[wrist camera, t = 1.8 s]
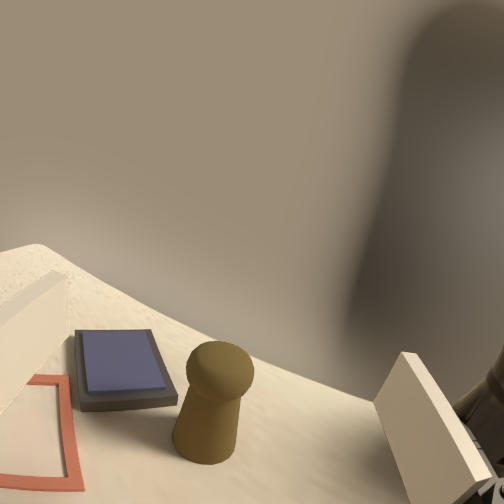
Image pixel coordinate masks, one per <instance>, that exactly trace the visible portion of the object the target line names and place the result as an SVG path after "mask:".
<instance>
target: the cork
mask: <svg viewBox="0 0 504 504" xmlns="http://www.w3.org/2000/svg"><path fill="white" fill-rule="evenodd" d="M186 375H187V380H188V382H189V384H190V386H189V388H188V391H187V394H186V397H185V400H184V402H183V405H182V408H181V411H180V413H179V416H178V419H177V422H176V425H175V428H174V430H173V433H172V442H173V444H174V446H175V448H176V450H177V451H178V452H179V453H180V454H181V455H182V456H183V457H185V458H186V459H188V460H190V461H192V462H195V463H199V464H208V465H213V464H217V463H221V462H223V461H225V460H226V459H228V458H229V457H230V456H231V455H232V453H233V452H234V448H235V443H236V435H237V426H238V418H239V409H240V401H241V396H243V395H244V394H245V393H246V391H247V390H248V389H249V388H250V386H251V384H252V381H253V377H254V366H253V363H252V360H251V358H250V356H249V355H248V354H247V353H246V352H245V351H244V350H242V349H241V348H240V347H238V346H235V345H233V344H230V343H226V342H221V341H210V342H206V343H203V344H200V345H199V346H198V347H197V348H195V349H194V350H193V351H192V353H191V355H190V357H189V359H188V361H187V365H186Z"/></svg>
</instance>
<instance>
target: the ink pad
mask: <svg viewBox="0 0 504 504" xmlns="http://www.w3.org/2000/svg"><path fill="white" fill-rule="evenodd" d="M75 351H76V367H77V379H78V390H79V399H80V406H81V411H82V412H99V411H119V410H134V409H146V408H156V407H166V406H174V405H177V401H178V394H177V392H176V390H175V387H174V385H173V383H172V381H171V378H170V376H169V374H168V371H167V369H166V366H165V364H164V362H163V359H162V357H161V354H160V352H159V349H158V347H157V344H156V342H155V339H154V337H153V334H152V331H151V329H146V330H75Z"/></svg>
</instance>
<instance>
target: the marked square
mask: <svg viewBox="0 0 504 504" xmlns="http://www.w3.org/2000/svg"><path fill="white" fill-rule="evenodd" d="M27 384H31V385H59V402H60V417H61V428H62V438H63V447H64V454H65V461H66V468H67V474H68V477H34V476H19V475H9V474H0V487H2V488H11V489H21V490H35V491H85V488H84V483H83V478H82V474H81V469H80V463H79V458H78V452H77V446H76V439H75V432H74V425H73V416H72V407H71V396H70V383H69V375H40V374H34V375H33V377H32V378H31V379H30V380H29V381H28V382H27Z"/></svg>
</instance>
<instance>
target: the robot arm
mask: <svg viewBox="0 0 504 504" xmlns="http://www.w3.org/2000/svg"><path fill="white" fill-rule="evenodd" d="M69 335H70V330H69V309H68V275H65V274H62V273H59V272H56V271H53V270H52V271H51V272H49V273H48V274H46V275H45V276H43V277H42V278H40V279H39V280H37V281H36V282H34V283H33V284H31V285H30V286H28V287H27V288H25V289H24V290H22V291H21V292H20V293H18V294H17V295H15V296H14V297H12V298H11V299H10V300H8V301H7V302H5V303H4V304H3V305H1V306H0V415H1V414H2V413H3V411H4V410H5V409H6V408H7V406H8V405H9V404H10V403H11V401H12V400H13V399H14V398H15V397H16V395H17V394H18V393H19V392H20V391H21V389H22V388H23V387H24V386H25V385H26V384H27V382H28V381H29V380H30V379H31V378H32V377H33V375H34V374H35V373H36V372H37V371H38V370H39V369H40V367H41V366H42V365H43V364H44V363H45V362H46V361H47V360H48V358H49V357H50V356H51V355H52V354H53V353H54V352H55V351H56V350H57V348H58V347H59V346H60V345H61V344H62V343H63V342H64V341H65V340H66V339H67V338H68V336H69ZM373 403H374V406H375V408H376V411H377V413H378V416H379V419H380V421H381V424H382V426H383V429H384V431H385V434H386V437H387V439H388V442H389V445H390V447H391V450H392V453H393V455H394V458H395V461H396V464H397V466H398V469H399V472H400V475H401V478H402V480H403V483H404V486H405V489H406V492H407V495H408V498H409V501H410V504H504V345H503V347H502V349H501V351H500V353H499V354H498V356H497V358H496V360H495V361H494V363H493V365H492V367H491V368H490V370H489V372H488V374H487V375H486V377H485V378H484V379H483V380H482V381H481V382H480V383H479V384H477V385H476V386H475V387H474V388H473V389H472V390H471V391H469V392H468V393H467V394H466V395H465V396H463V397H462V398H461V399H460V400H459V401H457V402H456V403H455V404H454V406H453V407H451V406H450V404H449V403H448V401H447V400H446V398H445V396H444V395H443V393H442V392H441V390H440V389H439V387H438V386H437V384H436V382H435V381H434V380H433V378H432V376H431V375H430V374H429V372H428V371H427V369H426V367H425V366H424V365H423V363H422V362H421V360H420V359H419V357H418V356H417V354H414V353H407V352H401V353H400V355H399V357H398V359H397V361H396V363H395V365H394V367H393V368H392V370H391V372H390V374H389V376H388V378H387V380H386V381H385V383H384V385H383V386H382V388H381V390H380V392H379V393H378V395H377V397H376V399H375V400H374V402H373Z"/></svg>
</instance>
